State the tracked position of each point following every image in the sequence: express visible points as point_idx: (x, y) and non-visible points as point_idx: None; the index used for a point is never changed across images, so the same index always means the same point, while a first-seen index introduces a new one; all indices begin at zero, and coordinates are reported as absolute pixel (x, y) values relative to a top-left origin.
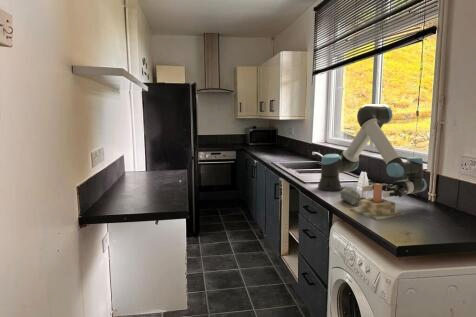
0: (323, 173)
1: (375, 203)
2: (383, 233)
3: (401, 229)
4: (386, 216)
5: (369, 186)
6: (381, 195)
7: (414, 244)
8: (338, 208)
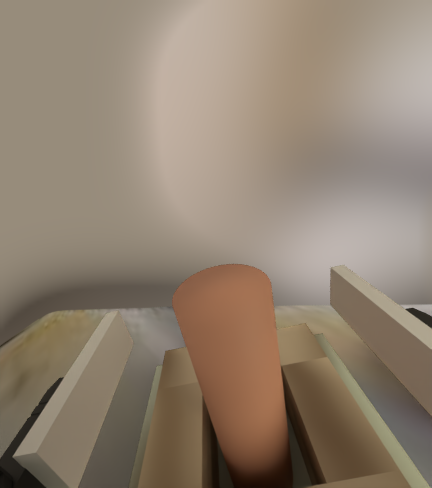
0: None
1: None
2: (92, 321)
3: (43, 392)
4: (141, 431)
5: (392, 325)
6: (205, 402)
7: (4, 345)
8: None
